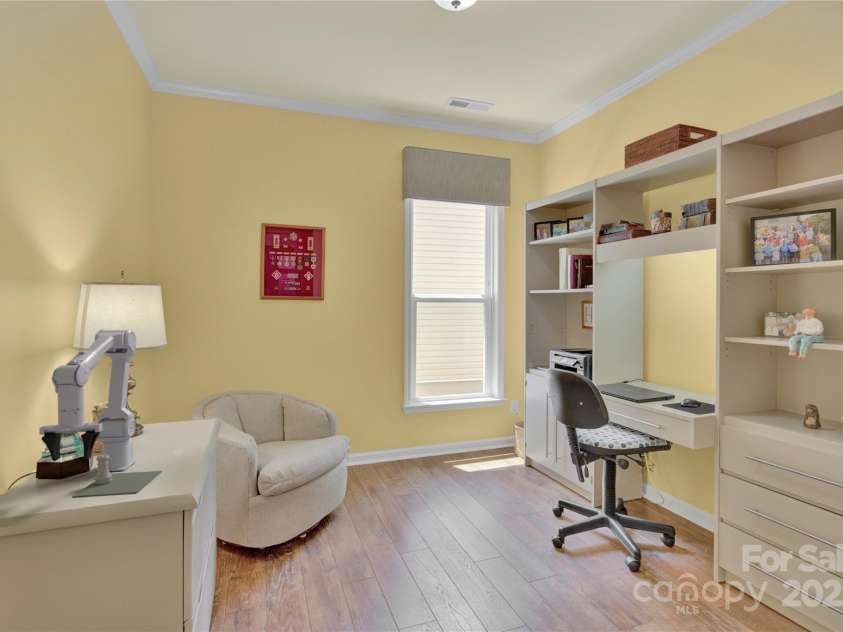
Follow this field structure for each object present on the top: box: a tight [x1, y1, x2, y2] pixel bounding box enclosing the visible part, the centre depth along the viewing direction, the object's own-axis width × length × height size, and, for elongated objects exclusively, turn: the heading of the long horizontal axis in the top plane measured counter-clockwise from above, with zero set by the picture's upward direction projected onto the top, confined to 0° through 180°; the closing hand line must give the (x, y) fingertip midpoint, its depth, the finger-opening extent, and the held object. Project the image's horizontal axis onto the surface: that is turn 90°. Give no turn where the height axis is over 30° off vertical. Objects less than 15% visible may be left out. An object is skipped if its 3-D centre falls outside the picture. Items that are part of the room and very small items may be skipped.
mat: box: [71, 470, 163, 498], centre depth 137 cm, size 18×16×1 cm
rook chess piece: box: [93, 453, 112, 485], centre depth 137 cm, size 4×4×8 cm
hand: (71, 459), depth 129 cm, fingers open, 7 cm apart
